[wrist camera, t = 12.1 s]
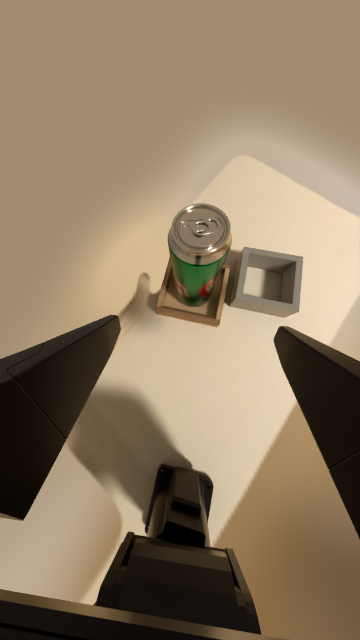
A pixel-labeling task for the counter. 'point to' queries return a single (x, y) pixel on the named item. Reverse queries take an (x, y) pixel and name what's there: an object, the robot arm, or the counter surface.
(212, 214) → the soda can
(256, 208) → the counter surface
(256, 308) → the box
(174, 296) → the walnut tray
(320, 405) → the robot arm
